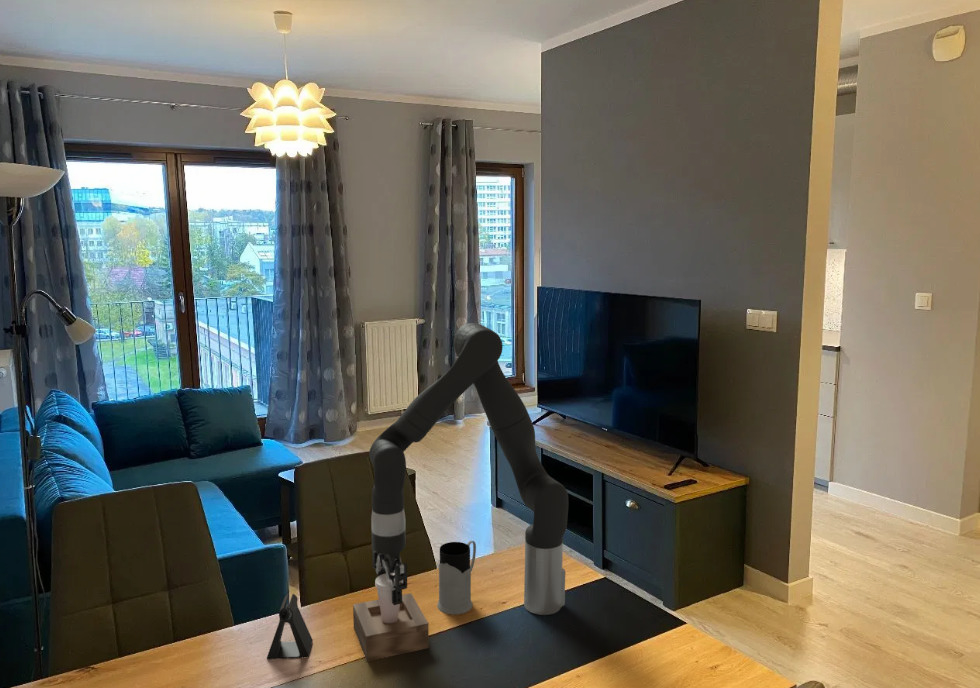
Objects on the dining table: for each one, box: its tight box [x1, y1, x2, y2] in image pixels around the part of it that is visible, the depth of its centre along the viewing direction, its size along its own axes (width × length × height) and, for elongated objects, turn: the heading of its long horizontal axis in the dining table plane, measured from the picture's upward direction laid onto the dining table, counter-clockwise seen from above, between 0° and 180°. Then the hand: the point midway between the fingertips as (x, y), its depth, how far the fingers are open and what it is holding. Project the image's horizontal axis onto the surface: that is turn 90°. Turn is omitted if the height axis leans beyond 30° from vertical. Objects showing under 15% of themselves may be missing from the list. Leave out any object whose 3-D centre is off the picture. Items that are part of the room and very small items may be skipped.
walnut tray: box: [352, 592, 430, 662], centre depth 167 cm, size 14×14×6 cm
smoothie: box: [374, 572, 400, 623], centre depth 166 cm, size 6×6×14 cm
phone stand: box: [266, 593, 314, 660], centre depth 161 cm, size 9×6×12 cm, turn 95°
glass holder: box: [436, 540, 477, 615], centre depth 183 cm, size 9×14×15 cm, turn 151°
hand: (389, 595), depth 166 cm, fingers open, 7 cm apart
